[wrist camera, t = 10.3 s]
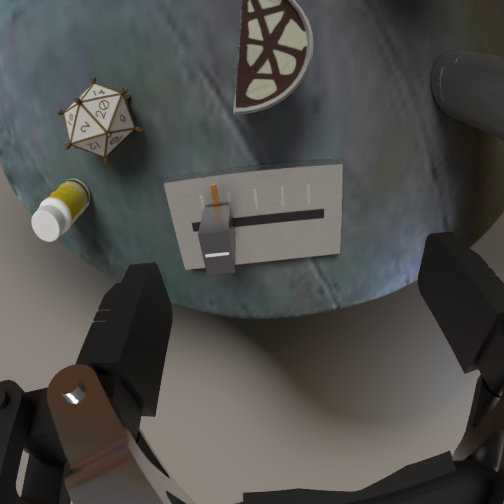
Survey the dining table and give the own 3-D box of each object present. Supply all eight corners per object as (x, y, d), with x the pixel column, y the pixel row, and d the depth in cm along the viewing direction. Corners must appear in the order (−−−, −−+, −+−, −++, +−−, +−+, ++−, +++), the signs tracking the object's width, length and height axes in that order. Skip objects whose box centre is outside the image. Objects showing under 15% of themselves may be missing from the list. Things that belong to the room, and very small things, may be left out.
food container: (291, 107, 32) (310, 124, 24) (235, 103, 32) (232, 118, 23) (301, 3, 25) (324, -18, 17) (242, -3, 25) (243, -27, 17)
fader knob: (230, 204, 36) (228, 231, 31) (235, 242, 39) (235, 273, 34) (203, 207, 36) (197, 235, 31) (211, 245, 39) (207, 276, 34)
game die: (114, 96, 33) (76, 53, 23) (166, 117, 33) (135, 69, 23) (75, 157, 33) (25, 127, 23) (124, 185, 33) (76, 156, 23)
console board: (337, 158, 36) (342, 164, 34) (336, 245, 42) (340, 253, 40) (167, 177, 36) (163, 183, 34) (187, 260, 43) (185, 270, 41)
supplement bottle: (65, 172, 35) (32, 200, 28) (95, 186, 36) (66, 218, 29) (57, 202, 37) (26, 234, 30) (85, 216, 38) (58, 251, 31)
